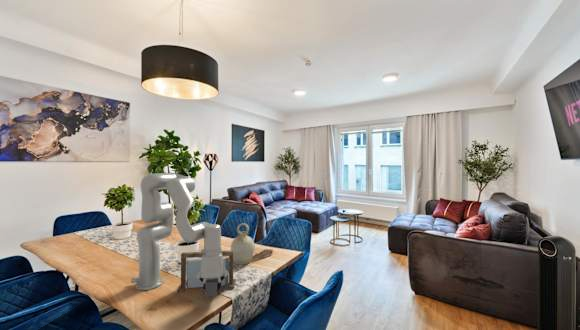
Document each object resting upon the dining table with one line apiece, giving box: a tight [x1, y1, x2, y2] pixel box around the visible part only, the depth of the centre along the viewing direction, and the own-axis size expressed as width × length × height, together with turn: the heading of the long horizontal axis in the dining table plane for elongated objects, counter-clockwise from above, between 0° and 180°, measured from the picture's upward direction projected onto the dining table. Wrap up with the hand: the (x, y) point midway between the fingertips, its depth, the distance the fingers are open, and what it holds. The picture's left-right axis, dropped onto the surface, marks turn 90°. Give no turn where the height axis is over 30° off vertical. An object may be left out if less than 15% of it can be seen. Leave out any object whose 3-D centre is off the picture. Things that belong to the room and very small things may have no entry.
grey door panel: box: [186, 257, 229, 289], centre depth 120 cm, size 21×1×14 cm, turn 98°
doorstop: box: [204, 278, 219, 297], centre depth 111 cm, size 5×15×6 cm, turn 8°
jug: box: [230, 222, 255, 265], centre depth 153 cm, size 15×16×25 cm
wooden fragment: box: [250, 248, 274, 264], centre depth 162 cm, size 26×11×1 cm, turn 149°
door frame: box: [176, 250, 237, 293], centre depth 120 cm, size 28×8×18 cm, turn 98°
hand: (212, 290), depth 107 cm, fingers closed on doorstop, 5 cm apart
